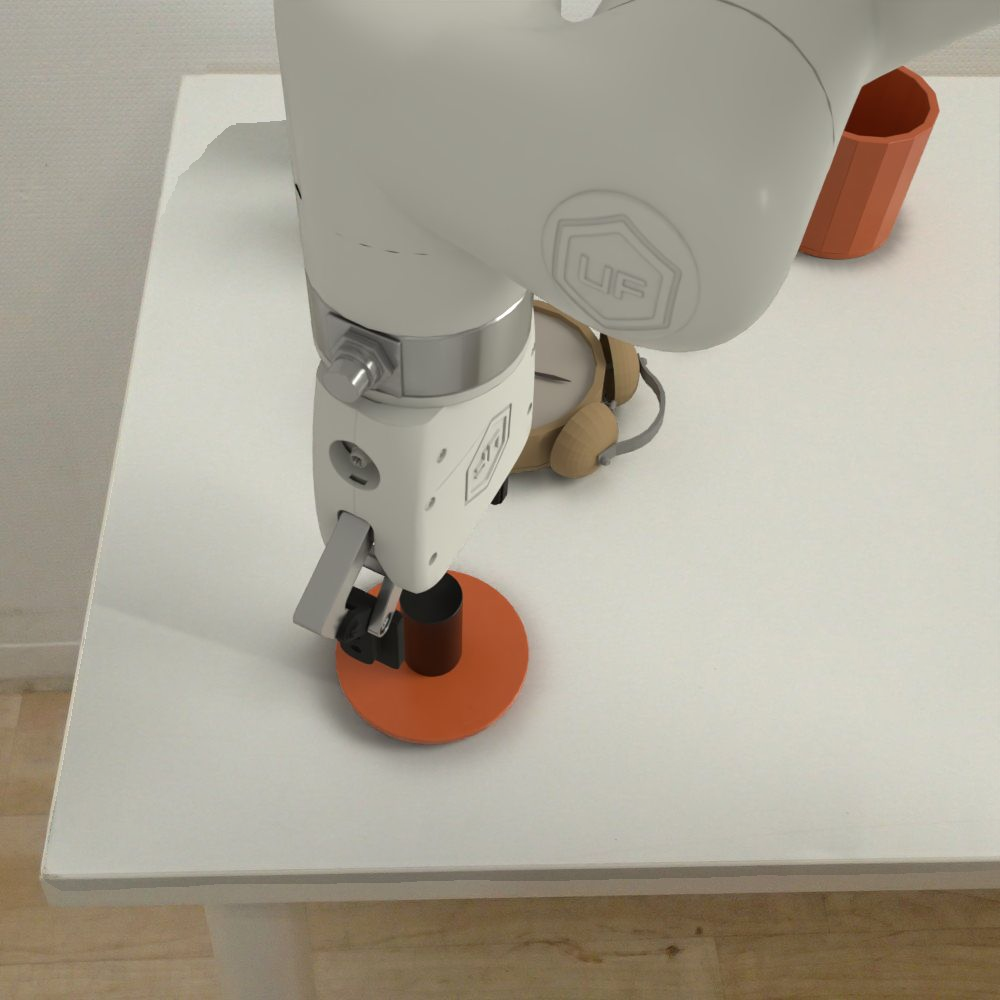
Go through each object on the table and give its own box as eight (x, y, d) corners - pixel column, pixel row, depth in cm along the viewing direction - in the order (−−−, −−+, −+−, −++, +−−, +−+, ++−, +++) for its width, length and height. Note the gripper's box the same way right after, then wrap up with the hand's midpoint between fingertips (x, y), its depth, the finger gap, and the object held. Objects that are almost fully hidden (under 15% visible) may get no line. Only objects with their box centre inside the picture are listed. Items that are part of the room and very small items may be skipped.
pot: (907, 196, 83) (954, 79, 75) (870, 276, 78) (917, 160, 70) (783, 155, 85) (817, 37, 77) (740, 231, 80) (772, 113, 72)
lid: (559, 625, 62) (569, 559, 56) (473, 783, 57) (475, 726, 51) (396, 552, 64) (392, 482, 59) (300, 697, 59) (285, 634, 54)
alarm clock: (447, 281, 72) (686, 312, 68) (460, 339, 76) (687, 373, 71) (377, 412, 66) (635, 457, 61) (394, 468, 70) (639, 514, 65)
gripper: (390, 528, 34) (403, 762, 48) (625, 183, 43) (578, 464, 57) (174, 429, 35) (247, 683, 49) (445, 118, 45) (442, 406, 59)
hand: (424, 566), depth 53 cm, fingers open, 9 cm apart
